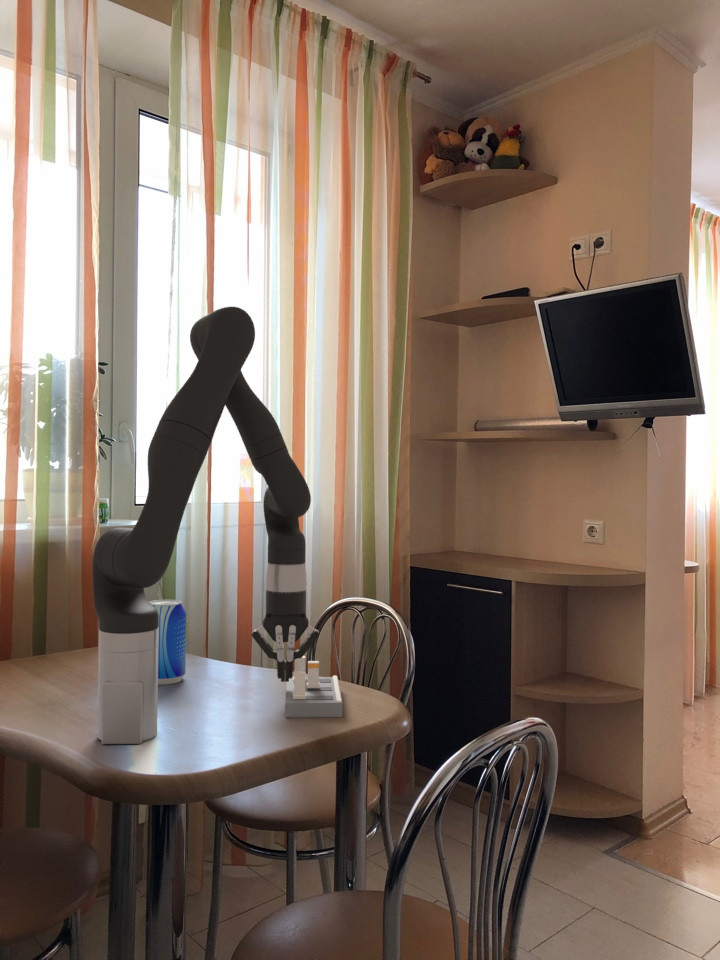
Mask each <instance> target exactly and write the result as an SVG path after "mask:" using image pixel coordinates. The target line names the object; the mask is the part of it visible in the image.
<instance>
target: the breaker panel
mask: <svg viewBox="0 0 720 960" xmlns="http://www.w3.org/2000/svg"><path fill="white" fill-rule="evenodd" d="M293 671H294V672H293V676H292V679H289V682H286V683H285V684H286V686H285V687H286V688H285V699H284V700H285V701H284V702H285V703H284V718H342V717H343V699H342V693H341V688H340V687H341V686H340V682H339V678H338V676H337V675H332V676H319V682H320V688H307V682H308V676H307V675H306V673H307V672H306V656H305V655H303V657H302V658H298V659H295V660H294V670H293Z"/></svg>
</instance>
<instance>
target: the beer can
mask: <svg viewBox="0 0 720 960" xmlns="http://www.w3.org/2000/svg"><path fill="white" fill-rule="evenodd" d="M149 602H150V603H151V604H152V605H153V606H154V607H155V608H156V610H157V611H158V615H159V631H158V686H161V685H163V686H164V685H173V684H177V683H179V682H181V681H182V680H183V677H184V676H185V675H186V668H187V667H186V661H187V659H186V655H187V654H186V653H187V650H186V649H187V648H186V647H187V612H186V610H185V608H184V607H183V604H182V601H181V600H179V599H178V600H177V599H156V600H155V599H154V600H151V601H150V600H149Z"/></svg>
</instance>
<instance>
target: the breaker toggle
mask: <svg viewBox="0 0 720 960" xmlns="http://www.w3.org/2000/svg"><path fill="white" fill-rule="evenodd" d="M307 677H308V682H307V688H320V682H319V677H320V661H319V660H308V661H307Z"/></svg>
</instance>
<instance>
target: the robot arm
mask: <svg viewBox="0 0 720 960" xmlns="http://www.w3.org/2000/svg"><path fill="white" fill-rule="evenodd" d="M255 339H256V328H255V324H254V322H253V319H252V317H251V316H250V314H248V312H247V311H246V310H244V309H243V308H241V307H237V306H225V307H222V308H221V307H220V308H218V309H215V310H214V311H212V312H210V313H208V314H206V315H204V316H202V317H200V318H199V319H198V320H197V321H196V322H194V324H193V325H192V326H191V329H190V334H189V340H190V346H191V348H192V352H193V353H194V355H195V358H196V359H197V360H198V361H197V363H196V365H195V366H194V369H193V371H192V372H191V374H190V375H189V377H188V379H186V381H185V382H184V384H183V385H182V387H180V388H179V390H178V392H176V394H175V395H174V397H173V398H172V400H171V401H170V402H169V404H168V405H167V406H166V409H164V412H163V414H162V416H161V418H160V419H159V422H158V424H157V427H156V429H155V431H154V434H153V436H152V438H151V441H150V444H149V446H148V447H149V448H148V451H147V477H148V489H147V491H148V492H147V496H146V500H145V502H144V505H143V508H142V509H141V513H140V515H139V517H138V519H137V522H136V524H135V525H134V527H131V528H130V527H115V528H111V529H108V530H107V531H105V532H104V533H103V534H102V535H101V536H100V537H99V539H98V540H97V542H96V544H95V547H94V550H93V555H92V556H93V557H92V589H93V590H92V591H93V607H94V610H95V611H94V612H95V614H96V616H97V619H98V662H97V663H98V668H97V669H98V670H97V671H98V673H97V674H98V676H97V739H98V740H99V741H101V742H100V743H101V745H122V744H127V745H128V744H129V745H130V744H133V745H134V744H136V745H137V744H142V743H144V742H145V741H147V740H150V739H153V738H155V736H157V734H158V710H159V709H158V700H159V699H158V697H159V696H158V693H159V690H158V689H159V687H158V686H159V685H158V631H159V615H158V611H157V610H156V608H155V607H154V606H153V605H152V604H151V603H150V600H149V599H148V598H147V596H146V593H145V588H150V587H152V586H154V585H156V584H157V583H158V582H159V581H161V579H162V578H163V576H164V575H165V573H166V571H167V569H168V567H169V565H170V562H171V559H172V555H173V552H174V550H175V544H176V543H177V542H176V541H177V538H178V533H179V531H180V526H181V523H182V521H183V516H184V514H185V512H186V511H185V510H186V507H187V505H188V501H189V500H190V497H191V494H192V492H193V489H194V486H195V483H196V480H197V477H198V476H199V473H200V471H201V468H202V466H203V463H204V462H205V459H206V458H207V457H206V456H207V454H208V452H209V449H210V446H211V443H212V440H214V439H213V438H214V435H215V433H216V429H217V428H218V425H219V422H220V419H221V417H222V415H223V411H224V409H225V407H226V409H227V411H228V413H229V414H230V416H231V418H232V419H231V420H233V422H234V425H235V427H236V429H237V431H238V433H239V435H240V437H241V440H242V443H243V445H244V447H245V450H246V453H247V454H248V458H249V460H250V462H251V465H252V466H253V468H254V470H255V471H256V472H257V473H259V475H261V476H262V477H263V480H264V481H265V483H266V485H267V488H266V490H265V491H264V495H263V503H262V504H263V505H262V507H263V515H264V516H263V517H264V521H265V529H266V534H267V566H266V573H265V615H264V618H263V620H262V624H261V626H259V627H257V628H255V629H253V630H252V632H251V633H252V634H251V637H252V638H253V640H254V641H255V642H256V643H257V644H258V646H259V647H260V649H261V650H262V651H263V652H264V653H265V655H266V656H267V658H269V659H272V660H274V661H276V663H277V664H276V665H277V667H276V668H277V669H276V670H277V672H276V673H277V679H279V680H280V682H281V683H285V682H286V683H287V682H289V679H292V677H293V676H294V672H293V671H294V670H293V669H294V664H293V663H294V662H295V659H298V658H302V657H303V656H305V654H306V653H307V652H308V650H309V649H310V648H311V647H312V645H313V644H314V643H315V642H316V641H317V639H318V638H319V636H320V632H319V630H318V629H317V628H314V627H313V626H311V625H310V622H309V619H308V617H307V586H308V581H307V576H308V574H307V568H306V550H307V549H306V548H307V546H306V538H305V537H306V536H305V535H304V534H303V532H302V531H301V529H300V521H299V519H300V517H302V516H304V515H305V514H306V513H307V512H309V509H310V507H311V502H312V496H311V491H310V488H309V486H308V483H307V481H306V480H305V478H304V476H303V473H302V472H301V471H300V469H299V467H298V466H297V464H296V463H295V461H294V460H293V458H292V457H291V455H290V452H289V450H288V449H289V448H288V447H287V444H286V441H285V440H284V437H283V435H282V432H281V430H280V427H279V424H278V423H277V421H276V419H275V418H274V415H272V412H271V411H270V410H269V409H268V407H267V406H266V405H265V404H264V403H263V402H262V401H261V399H260V398H259V397H258V396H257V394H255V392H254V391H253V390H252V388H251V386H250V385H249V384H248V382H247V380H246V378H245V376H244V374H243V372H242V368H243V366H244V365H245V363H246V361H247V359H248V357H249V355H250V354H251V351H252V349H253V347H254V345H255ZM265 631H266V632H267V633H266V632H265ZM305 631H306V633H305ZM304 633H305V637H306V638H305V640H303V642H302V644H300V646H299V647H298V649H296V650H295V644H296V643H295V642H297V641H298V640H300V639H301V638H302V637H301V636H302V635H303V634H304ZM266 634H268V635H269V637H270V638H271V640H273V642H275V643H276V644H275V645H276V650H275V649H274V648H273V647H272V646H271V644H270V643H269V642H268V640H267V639H266ZM285 643H287V650H286V658H285V648H284V647H285V646H284V644H285Z"/></svg>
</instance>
